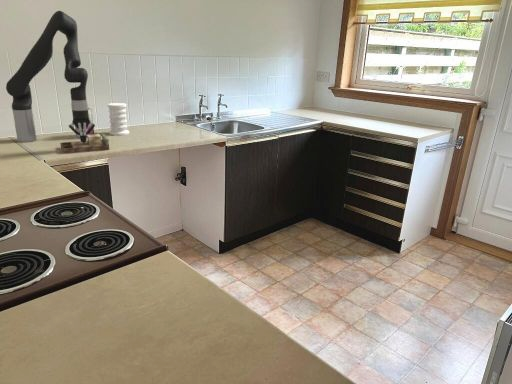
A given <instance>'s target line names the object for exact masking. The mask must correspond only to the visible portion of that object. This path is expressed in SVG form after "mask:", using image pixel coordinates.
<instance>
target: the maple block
mask: <svg viewBox="0 0 512 384" xmlns="http://www.w3.org/2000/svg"><path fill="white" fill-rule="evenodd" d="M86 140H87V141H88V143H89V145H94V144H102V142H101V140H102V135H101V134H99V133H97V134H95V133H94V135H87V138H86Z"/></svg>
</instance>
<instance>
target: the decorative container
mask: <svg viewBox="0 0 512 384" xmlns="http://www.w3.org/2000/svg"><path fill="white" fill-rule="evenodd" d="M107 107H108V112H109V123H110V126H109V127H110V129H111V130H109V135H111V136H127V135H129V134H130V130H128V120H127V118H128V117H127V116H128V115H127V107H128V106H127V103H123V102H113V103H111V102H109V103H107Z"/></svg>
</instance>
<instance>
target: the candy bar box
mask: <svg viewBox="0 0 512 384" xmlns="http://www.w3.org/2000/svg"><path fill="white" fill-rule="evenodd" d="M92 113H93V111H92V107H88V114H89V120H90V122H91V123H93V124H94V121H93V120H94V119H93V114H92ZM89 128H90V124H89V126H88V127H87V128H86V132H87V130H88V129H89ZM74 129H75V130H76V131H77V132H79V129H78V128H77V127H76V126H75V125H74ZM82 134H83V129H82ZM94 134H95V128H93V129H92V131H91V132H90V134H87V135H94ZM87 135H86V139H87ZM75 136H76V138H77V139H80V135H77V134H76V133H75Z"/></svg>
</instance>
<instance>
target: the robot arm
mask: <svg viewBox="0 0 512 384" xmlns="http://www.w3.org/2000/svg"><path fill="white" fill-rule="evenodd" d="M58 32H60V33H61V34H64V35H65V37H66V39H67V40H66V41H67V42H66V43H65V45H64V47H63V56H64V62H65V68H64V73H63V75H64V76H63V77H64V79H65V81H66V82H67V83H73V84H75V83H80V84H79V85H78V86H75V87H72V88H70V91H69V92H70V100H71V103H70V105H71V113H72V123H70V124H68V128H69V129H71V131H72V132H73V133H74V134H75V135H76V134H77V135H80V138H79V141H81V142H82V143H85V141H88V139H87V138H86V135H87V134H90V132H91V131H92V129H93V128H94V127H96V126H95V123H94V122H93V123H91V122H90V120H89V114H88V108H89V106H88V105H89V104H88V101H87V93H86V92H87V90H86V89H87V82H88V77H89V75H88V74H89V73H88V71H87V70H86V68H85V67H81V65H82V64H81V63H82V62H81V58H80V52H79V47H78V46H79V45H78V43H79V42H78V25H77V21H76V20H75V19H74V18H73V17H72V16H70V15H68V14H67V13H66V12H64V11H62V10H57V11H55V12H54V14H52V16H51V17H50V19H49V21H48V23H47V24H46V26H45V28H44V30H43V32H42V33H41V35H40V36H39V38H38V39H37V41H36V42H35V44H34V45H33V46H32V48H31V49H30V50H29V52H28V54H27V56H26V57H25V59H24V60H23V62H22V63H21V66H19V68H18V70H16V72H15V73H14V74H13V76H11V78H10V79H9V80H8V81H7V82H6V86H5V89H6V92H7V94H9V95H10V96H11V97H12V103H11V110H12V114H13V121H14V128H15V129H14V130H15V133H16V134H15V135H16V139H17V143H29V142H30V143H31V142H36V141H37V140H38V139H37V138H38V137H37V133H36V126H35V121H34V114H33V106H32V105H33V99H32V98H33V97H32V91H31V86H30V83H31V81H32V80H33V79H34V78H35V77H36V76H37V75H38V74H39V73H40V72H41V71H43V69H44V68H45V67H46V65H48V63H49V62H50V60H51V59H52V57H53V51H54V50H53V49H54V47H53V43H54V37H55V36H56V34H57V33H58ZM89 124H90V128H89V129H88V130H87V132H86V128H87V127H88V126H89ZM75 126H76V127H77V128H78V129H79V132H77V131H76V130H75ZM82 129H83V134H82ZM94 129H95V128H94Z"/></svg>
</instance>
